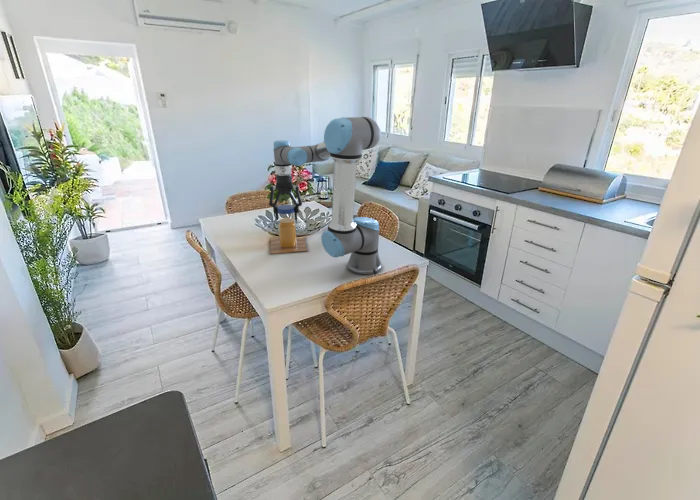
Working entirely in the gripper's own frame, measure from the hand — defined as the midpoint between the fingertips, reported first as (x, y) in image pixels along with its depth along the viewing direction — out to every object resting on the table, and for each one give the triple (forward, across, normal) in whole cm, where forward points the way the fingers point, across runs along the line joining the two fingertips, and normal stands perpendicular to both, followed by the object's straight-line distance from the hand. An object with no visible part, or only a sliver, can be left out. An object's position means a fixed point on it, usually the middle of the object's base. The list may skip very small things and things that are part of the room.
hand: (286, 219), depth 176 cm
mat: (+14, 0, 0) cm, 14 cm away
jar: (+14, 0, 0) cm, 14 cm away
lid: (-6, 0, 0) cm, 6 cm away
